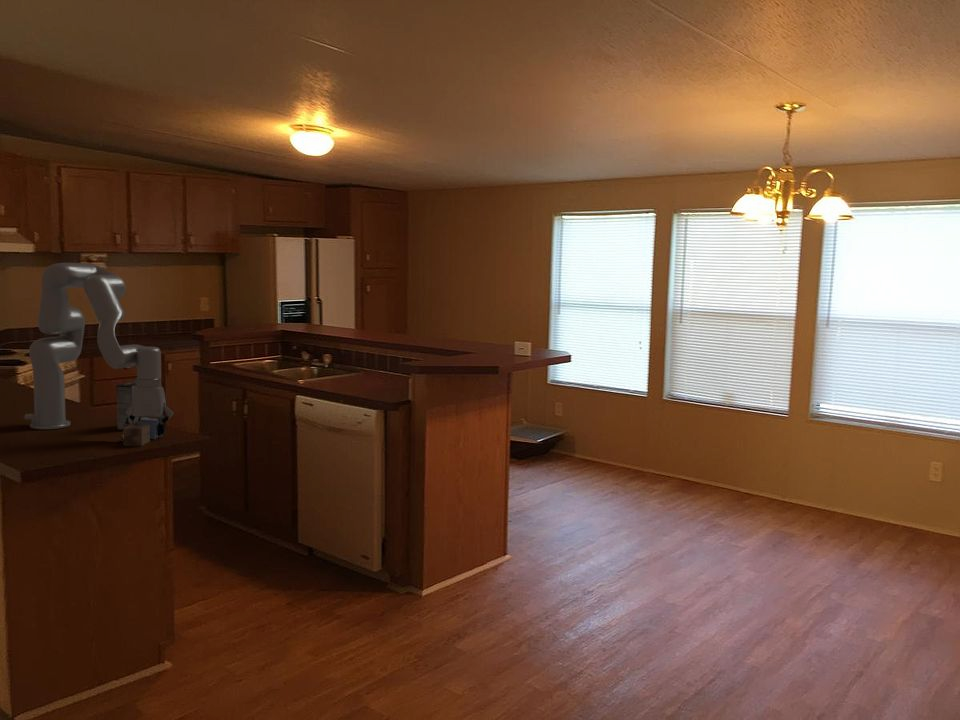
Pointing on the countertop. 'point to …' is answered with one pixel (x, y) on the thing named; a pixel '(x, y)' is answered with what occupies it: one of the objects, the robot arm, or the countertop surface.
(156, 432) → the blue cube
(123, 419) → the coffee box
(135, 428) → the walnut block
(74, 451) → the countertop surface
